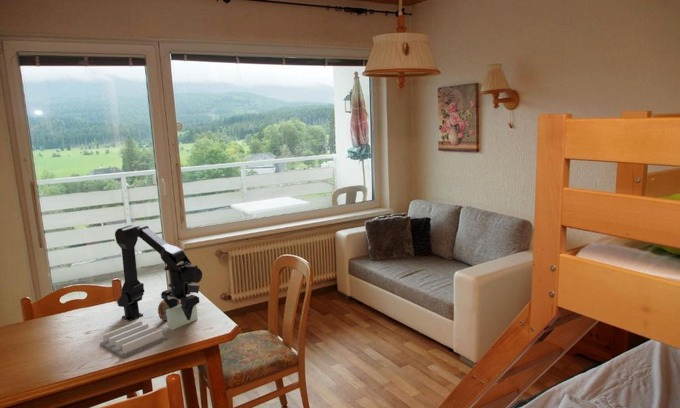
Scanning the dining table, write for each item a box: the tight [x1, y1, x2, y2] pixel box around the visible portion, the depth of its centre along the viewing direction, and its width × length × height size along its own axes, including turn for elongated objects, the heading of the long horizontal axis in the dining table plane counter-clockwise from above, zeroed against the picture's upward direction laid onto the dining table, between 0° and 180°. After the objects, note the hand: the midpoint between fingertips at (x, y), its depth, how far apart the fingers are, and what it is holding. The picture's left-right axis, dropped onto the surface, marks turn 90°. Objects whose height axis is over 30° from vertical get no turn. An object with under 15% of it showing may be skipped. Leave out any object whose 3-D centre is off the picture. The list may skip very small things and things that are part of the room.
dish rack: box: [99, 320, 168, 359], centre depth 179 cm, size 18×17×4 cm
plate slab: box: [166, 304, 199, 331], centre depth 192 cm, size 2×12×8 cm, turn 141°
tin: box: [157, 299, 181, 321], centre depth 201 cm, size 15×3×8 cm, turn 168°
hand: (182, 317), depth 193 cm, fingers open, 9 cm apart
